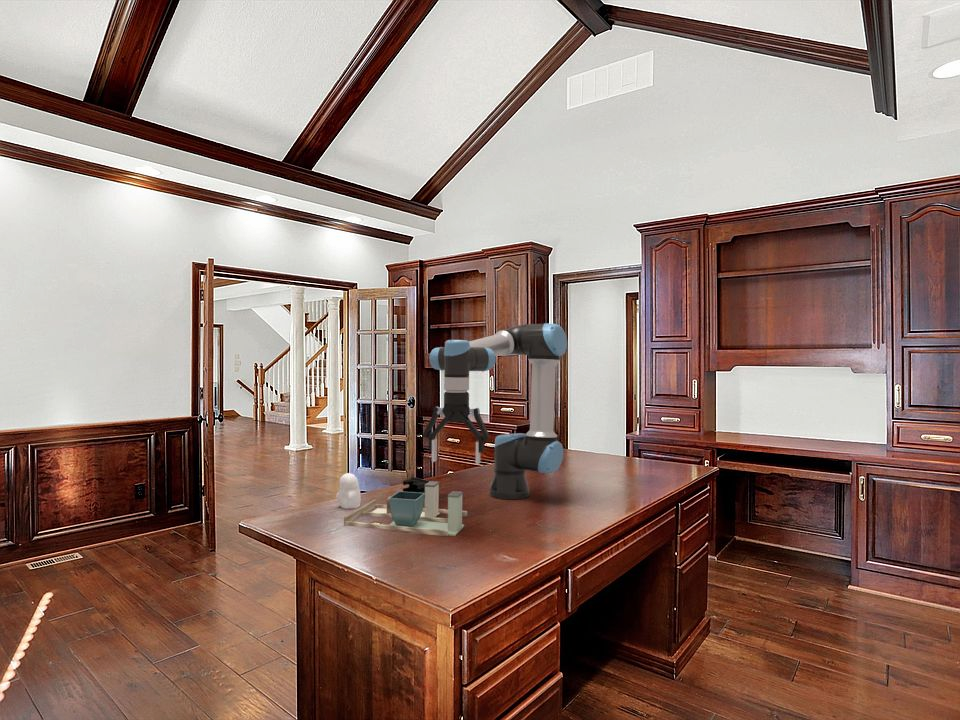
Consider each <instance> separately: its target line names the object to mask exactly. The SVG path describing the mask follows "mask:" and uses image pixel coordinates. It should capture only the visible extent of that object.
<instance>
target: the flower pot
mask: <svg viewBox="0 0 960 720" xmlns="http://www.w3.org/2000/svg"><path fill="white" fill-rule="evenodd" d="M390 496H391V497H390V498H389V501H390V510H391V515H392V518H391V519H392V520H393V521H394V522H395V524H396V525H397V526H408V527H412V526H414V525H415V524H416V523H417V521H420V520H419V518H420V516H421V513H422V510H423V508H424V505H425V498H424V497H425V493H416V492H403V490H402V491H397V492H395V493H394V494H392V495H390Z"/></svg>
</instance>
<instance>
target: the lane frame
mask: <svg viewBox="0 0 960 720" xmlns="http://www.w3.org/2000/svg"><path fill="white" fill-rule="evenodd" d="M377 501H378V500H377V499H373V500H371V501H370V502H368V503H366V504H364V505H363V506H360V507H358V508H356V509H355V510H353V511H352V512H350V513H348V514H347V515H345V516H343V526H347V527H348V526H349V527H359V528H368V529H369V528H370V529H381V530H393V531H401V532H404V533H407V534H409V533H410V534H417V535H430V536H438V537H440V536H441V537H448V536H449V535H448V530H438V529H427V528H416V527H405V526H394V525H389V524H382V523H370V522H369V523H368V522H359V521H358V522H357V521H356V520H358V519H360V518H361V517H363V516H364V517H365V516H366V517H377V518H388V519H393V518H392V515H391V514H387V513H375V512H372V511H374V510H375V509H377V508H383V509H387V504H384V503H383V504H379V503H377ZM422 512H425V507H423V510H422ZM438 513H440V514H447V515H448V509H445V508H443V509H442V508H438ZM462 517H468V511H467V510H462ZM418 521H429V522H441V523H448V518H446V517H445V518H444V517H435V518H434V517H423V516H420V518H419V520H418Z"/></svg>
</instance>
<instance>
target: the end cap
mask: <svg viewBox="0 0 960 720" xmlns="http://www.w3.org/2000/svg"><path fill="white" fill-rule="evenodd" d="M428 482H430V480H427V479H423V478H421V477H420V478H419V477H415V476H410V478H409V479H404V480H402V486H406V485H408V487H405V488H404V487H403V488H402V491H403V492H416V493H425V484H426V483H428ZM424 499H425V497H424Z"/></svg>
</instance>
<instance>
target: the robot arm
mask: <svg viewBox="0 0 960 720" xmlns="http://www.w3.org/2000/svg"><path fill="white" fill-rule="evenodd" d="M567 348H568V340H567V335H566V332H565V331H564V328H563V327H562V326H560V325H559V324H558V323H547V322H546V323H545V322H544V323H531V324H526V323H525V324H519V325H515V326H512V327H508V328H505V329H502V330H498V331H497V332H496V333H495V334H493V335H489V336H486V337H481V338H478V339H474V340H469V341H468V340H466V339H448V340H446V341H445V342H444V347H443V346H440V347H435V348H433V349H432V350H431V352H430V354H429V356H428V359H429V363H430V366H431V367H432V368H433V369H434V370H439V371H444V372H443V373H444V378H443V390H444V391H445V392H444V393H443V407H440V406H434V407H433V409H432V411H433V412H432V415H431V417H430V419H429V421H428V423H427V425H426V427H425V429H424V432H423V433H422V437H423V438H427V439H428V450H429V451H431V462H433V463H435V462H436V461H438V439H437V438H436V436H438V434H439V433H440V432H441V431H442V430H443V429H444V428H445V426H446V425H447V424H448V423H450V424H451V423H457V424H461V423H463V424H464V425H465V427H467V428H468V429H469V430H470V432H471V433H472V434H473V436H474V437H475V439H476V440H477V441H475V465H479V464H480V463H481V453H483V452H484V450H485V448H484V446H485V445H484V444H485V443H484V442H486V441H488V440H489V439H490V436H491V435H490V433H489V431H488V429H487V427H486V425H485V423H484V421H483V419H482V417H481V413H480V408H479V407H475V408H470V393H469V392H468V391H469V390H470V372H488V371H491V370H492V369H493V368H494V366H495V365H496V363H497V362H496V361H497V358H496V357H497V356H501V357H508V356H512V355H517V356H527V359H528V361H529V363H530V364H531V384H530V385H531V386H530V387H531V388H530V391H531V392H530V415H529V416H530V417H529V430H528V431H527V432H526V433H521V432H519V433H518V432H517V433H506V434H499V435H496V437H495V439H494V446H493V447H494V461H493V463H494V464H493V465H494V467H493V468H494V470H493V471H494V473H493V476H492V480H491V483H490V486H489V493H488V494H489V496H490V497H492V498H496V499H501V500H520V499H521V500H522V499H525V498H528V497H529V496H530V487H529V484H528V481H527V477H526V471H529V472H531V471H532V472H537V473H540V474H553V473H554V472H556V471H558V469H559V467H560V466H561V464H562V461H563V458H564V447H563V444H562V443H561V442H560V441H558V434H556V433H555V431H554V427H555V426H554V425H555V424H554V423H555V421H554V420H555V399H556V398H555V395H556V394H555V393H556V369H557V368H556V366H557V365H558V363H560V362H561V357H562V356H563V355H565V354H566V352H567V350H568V349H567ZM441 414H443V415H444V417H443V419H442V420H441V421H440V423H439V424H438V425H437V426H436V427H435V428H434V426H435V424H436V422H437V420H438V418H439V415H441ZM470 414H471V416H473V417H474V419H475V422H476V424H477V426H478V428H479V430H480V431H479V430H478V429H477V427H476V426H475V425H474V424H473V423H472V421H471V419H470V418H469V415H470ZM433 428H434V430H433ZM432 430H433V431H432Z"/></svg>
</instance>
